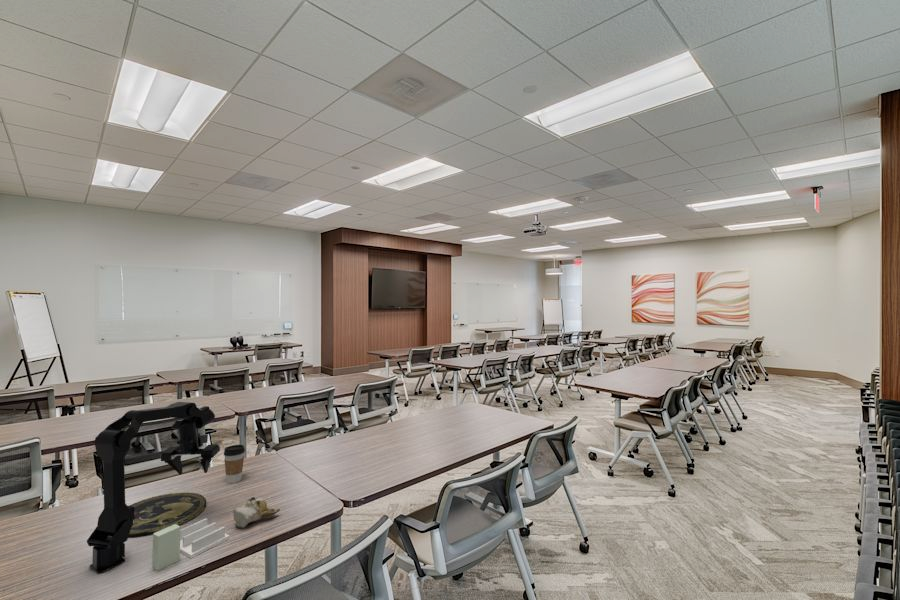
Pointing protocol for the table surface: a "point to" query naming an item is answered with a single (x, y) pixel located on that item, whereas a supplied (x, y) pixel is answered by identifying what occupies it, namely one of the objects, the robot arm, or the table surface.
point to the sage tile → (166, 547)
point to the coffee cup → (234, 463)
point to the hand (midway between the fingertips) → (193, 473)
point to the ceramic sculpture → (252, 512)
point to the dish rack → (200, 538)
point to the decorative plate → (165, 512)
